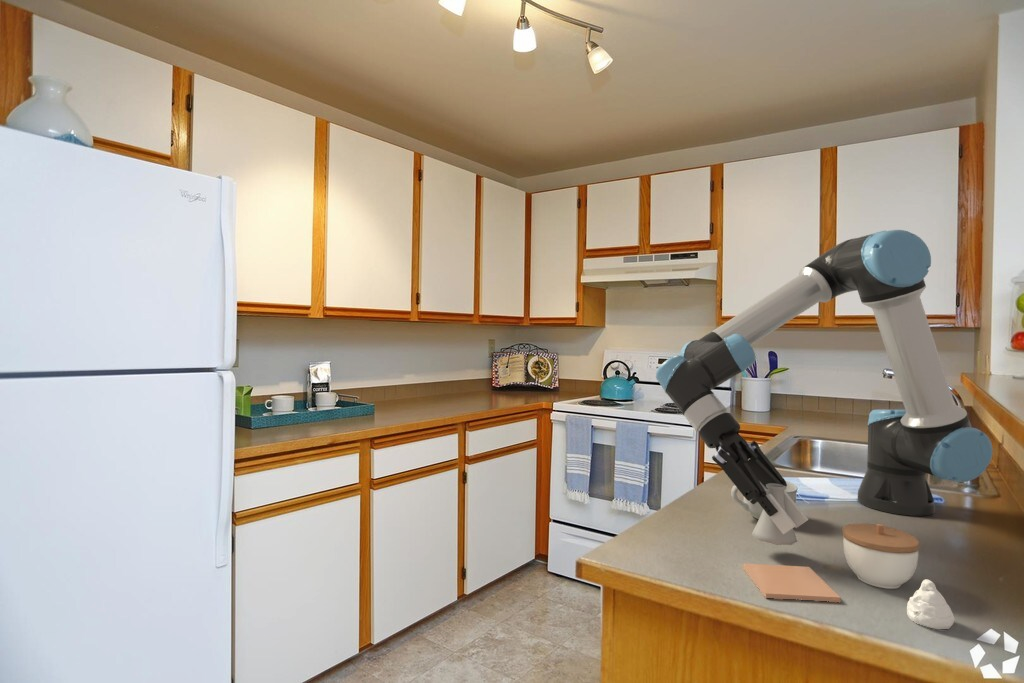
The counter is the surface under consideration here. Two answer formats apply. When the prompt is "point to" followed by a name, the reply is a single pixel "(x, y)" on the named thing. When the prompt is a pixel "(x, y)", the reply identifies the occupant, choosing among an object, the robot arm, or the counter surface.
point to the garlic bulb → (929, 607)
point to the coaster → (790, 582)
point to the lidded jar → (880, 554)
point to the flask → (767, 527)
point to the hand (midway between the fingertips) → (795, 526)
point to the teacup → (756, 508)
